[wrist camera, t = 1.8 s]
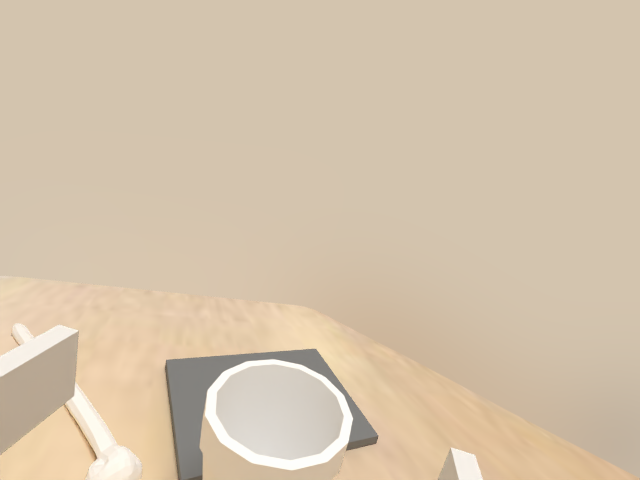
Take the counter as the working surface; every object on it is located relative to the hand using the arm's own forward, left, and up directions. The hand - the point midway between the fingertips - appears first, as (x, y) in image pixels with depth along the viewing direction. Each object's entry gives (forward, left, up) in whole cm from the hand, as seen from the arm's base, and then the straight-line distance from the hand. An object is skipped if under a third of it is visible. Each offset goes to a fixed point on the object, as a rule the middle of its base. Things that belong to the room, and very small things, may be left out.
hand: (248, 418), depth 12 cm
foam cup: (-6, -8, -20) cm, 22 cm away
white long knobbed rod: (+9, -27, -21) cm, 35 cm away
